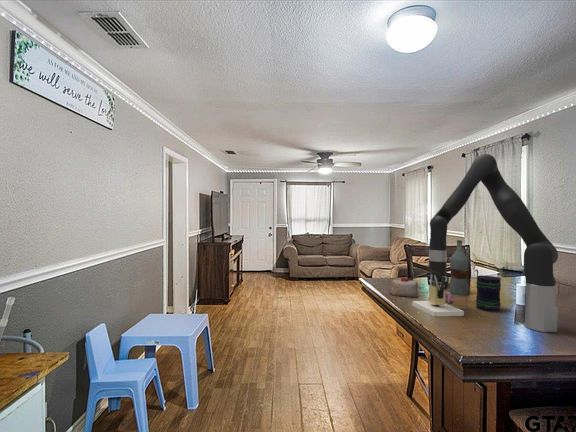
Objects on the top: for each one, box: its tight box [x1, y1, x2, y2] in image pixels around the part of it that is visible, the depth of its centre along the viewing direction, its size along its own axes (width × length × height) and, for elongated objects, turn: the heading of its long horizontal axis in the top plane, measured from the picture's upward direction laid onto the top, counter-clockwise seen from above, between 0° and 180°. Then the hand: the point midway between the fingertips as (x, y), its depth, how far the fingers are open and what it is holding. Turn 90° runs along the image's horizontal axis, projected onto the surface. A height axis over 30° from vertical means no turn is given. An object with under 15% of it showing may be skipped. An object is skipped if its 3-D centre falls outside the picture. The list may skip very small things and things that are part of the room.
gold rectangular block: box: [428, 285, 446, 305], centre depth 152 cm, size 5×5×8 cm
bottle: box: [448, 239, 469, 296], centre depth 187 cm, size 9×9×30 cm
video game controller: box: [445, 290, 454, 305], centre depth 169 cm, size 10×5×7 cm, turn 48°
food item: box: [390, 276, 419, 298], centre depth 180 cm, size 14×8×10 cm, turn 71°
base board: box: [411, 300, 465, 318], centre depth 152 cm, size 18×14×2 cm
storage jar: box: [475, 275, 502, 313], centre depth 156 cm, size 10×10×15 cm
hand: (436, 296), depth 152 cm, fingers closed on gold rectangular block, 5 cm apart
